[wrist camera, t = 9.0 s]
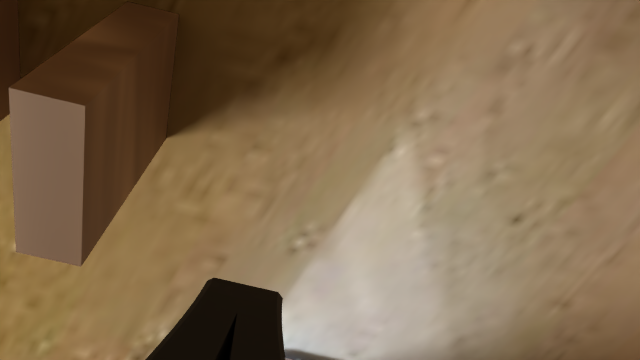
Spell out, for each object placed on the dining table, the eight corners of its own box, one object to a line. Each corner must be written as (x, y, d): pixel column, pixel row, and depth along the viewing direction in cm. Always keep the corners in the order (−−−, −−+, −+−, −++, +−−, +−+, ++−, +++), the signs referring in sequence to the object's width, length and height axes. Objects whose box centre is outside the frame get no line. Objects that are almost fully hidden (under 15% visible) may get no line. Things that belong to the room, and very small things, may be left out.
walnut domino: (179, 14, 19) (85, 105, 13) (165, 138, 21) (80, 266, 15) (127, 1, 19) (8, 87, 13) (119, 127, 21) (15, 251, 15)
